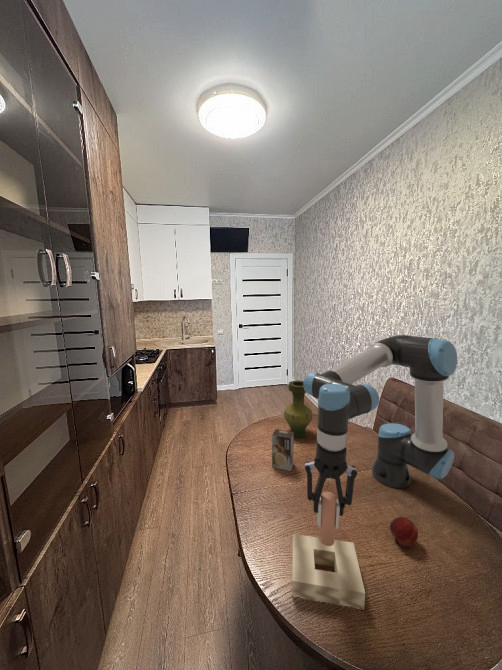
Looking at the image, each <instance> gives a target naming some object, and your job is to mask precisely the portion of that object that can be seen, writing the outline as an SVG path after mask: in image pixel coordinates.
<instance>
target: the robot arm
mask: <svg viewBox="0 0 502 670" xmlns="http://www.w3.org/2000/svg"><path fill="white" fill-rule="evenodd" d="M393 365H394V366H401V367H405V368H408V369H409V376H410V377H411V379H413V380H414V412H415V413H414V423H415V424H414V427H415V428H414V430H415V431H414V433H412V431H411V429H410V428H409V427H408V426H406V425H404V424H400V423H395V422H394V423H392V422H391V423H389V422H388V423H384V424H382V425H381V426H379V430H378V435H377V436H378V440H377V455H376V458H375V460H374V461H373V463H372V465H371V474H372V477H373V478H374V479H375V480H376V481H378V482H379V483H382V484H383V485H385V486H387V487H390V488H394V489H404V488H405V489H406V488H408V487H409V486H410V485H411V482H412V481H411V479H412V475H411V472H410V469H409V466H410V467H412V468H414V469H416V470H417V471H420V472H422V473H424V474H426V475H427V476H430V477H432V478H435V479H437V480H442V479H444V478H445V477H446V476H447V475H448V473H449V472H450V470H451V467H452V466H453V464H454V459H455V453H454V451H453V450H451V449H448V441H447V440H446V439H445V438H444V437H443V428H444V383H445V382H446V381H447V380H448V379H449V378H450V377H451V376H452V375H454V373H455V372H456V369H457V365H458V353H457V350H456V347H455V346H454V344H453V343H452V342H451V341H449V340H446V339H440V338H436V337H424V336H423V337H422V336H418V335H417V336H416V335H407V334H399V335H393V336H392V335H391V336H389V337H386V338H383V339H381V340H377V341H376V342H374V343H372V344H370V346H369V347H368V349H367V350H364V351H362V352H361V353H359V354H357V355H355V356H353V357H351V358H349V359H348V360H347V359H346V361H343V362H341V363H340V364H338V365H336V366H334V367H333V368H330V369H329V370H327V371H325V372H323V373H319V372H310V373H308V374H306V376H305V377H304V379H303V381H304V383H303V385H304V390H305V392H306V393H305V394H307V395H309V396H312V397H313V398H315V399H317V428H316V429H317V430H316V446H315V447H316V451H315V452H316V454H315V458H314V460H313V461H311V462H309V461H308V460H306V461H304V470H305V472H306V478H307V479H306V491H307V492H306V495H307V500H308V501H312V502H313V503H312V504H313V505H312V506H313V512H314V514H315V513H316V521H317V527H320V526H321V507H322V504H321V494H322V493H323V489H324V485H325V483H326V481H327V479H332V480H334V481H335V487H336V493H337V500H336V518H335V530H336V529H339V528H340V527H339V526H340V517H343V516H344V510H345V507H346V506H345V505H347V506H352V503H353V502H352V501H353V494H354V485H355V479H356V478H357V476H358V471H357V469H356V466H355V465H351V466H350V465H348V464H347V446H348V432H349V431H348V428H349V420H351V419H354V418H356V417H358V416H362V415H364V414H365V415H366V414H368V413H370V412H371V411H373V410H376V408H377V407H379V404H380V396H379V395H380V394H379V393H378V391H377V389H376V388H375V387H374V386H372V385H371V384H367V383H365V384H364V383H363V384H362V383H361V384H358V385H355V383H356V382H358V381H360V380H361V379H363V378H365V377H367V376H368V375H370V374H372V373H373V372H375V371H377V370H378V369H380V368H387V367H389V366H393ZM314 468H316V469H317V472H318V474H319V475H318V478H317V482H316V485H315V488H314V492H313V473H314V470H315V469H314ZM345 472H346V474H347V475H346V476H347V477H346V485H345V494H344V495H343V489H342V483H341V476H342V475H343V474H344V473H345Z"/></svg>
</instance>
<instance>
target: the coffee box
mask: <svg viewBox="0 0 502 670" xmlns="http://www.w3.org/2000/svg"><path fill="white" fill-rule="evenodd" d="M294 439H295V438H294V432H290V430H284V429H280V428H279V429H278V428H274V430H273V432H272V434H271V465H272V466H271V467H272V468H275V469H280V470H283V471H288V472H292V470H293V467H294V464H295V463H294V453H295V452H294V449H295V448H294V447H295V445H294V444H295V442H294Z"/></svg>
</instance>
